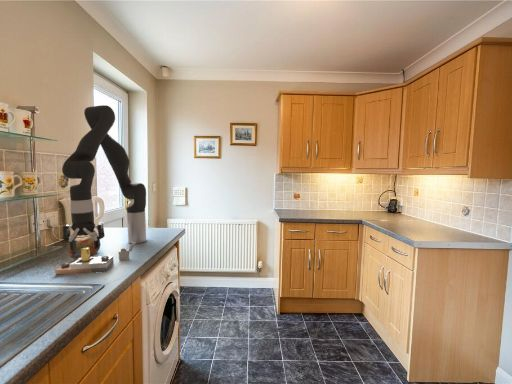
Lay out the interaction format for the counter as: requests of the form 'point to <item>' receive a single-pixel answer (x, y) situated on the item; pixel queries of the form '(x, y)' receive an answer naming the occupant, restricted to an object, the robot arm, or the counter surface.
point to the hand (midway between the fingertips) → (85, 249)
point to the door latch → (87, 266)
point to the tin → (83, 244)
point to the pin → (85, 255)
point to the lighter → (125, 252)
